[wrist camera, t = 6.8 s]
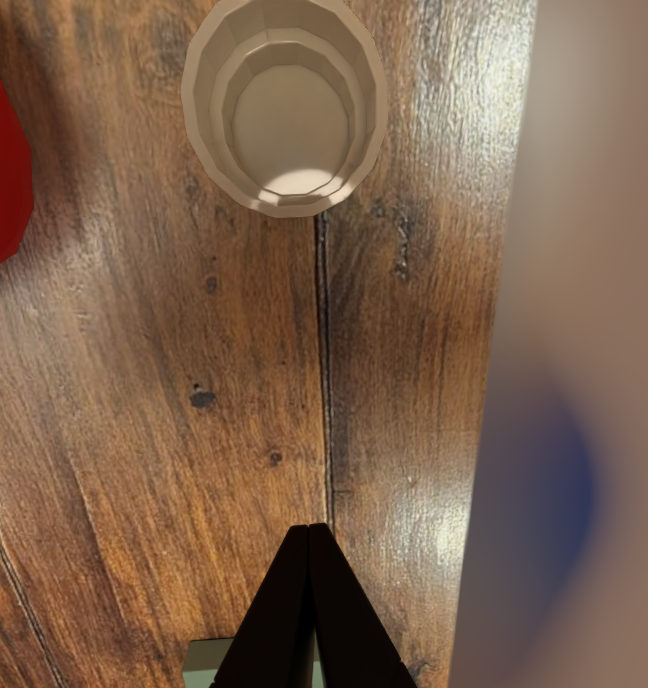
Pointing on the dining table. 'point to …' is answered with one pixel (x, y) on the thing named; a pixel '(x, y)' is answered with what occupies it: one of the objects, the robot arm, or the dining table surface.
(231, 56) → the bowl
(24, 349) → the dining table surface
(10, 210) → the tomato
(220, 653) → the scale
